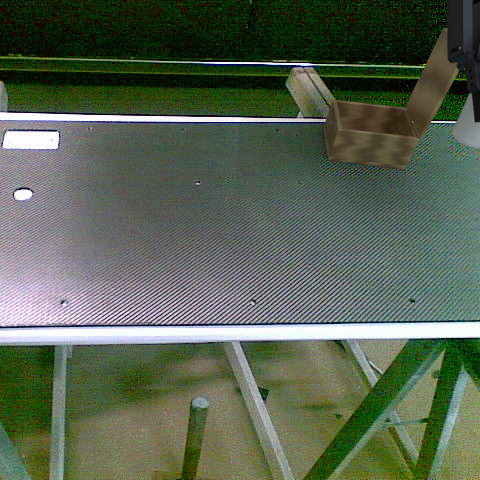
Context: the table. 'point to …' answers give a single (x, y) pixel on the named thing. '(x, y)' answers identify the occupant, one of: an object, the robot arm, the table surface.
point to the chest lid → (432, 86)
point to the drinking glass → (467, 126)
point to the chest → (369, 134)
